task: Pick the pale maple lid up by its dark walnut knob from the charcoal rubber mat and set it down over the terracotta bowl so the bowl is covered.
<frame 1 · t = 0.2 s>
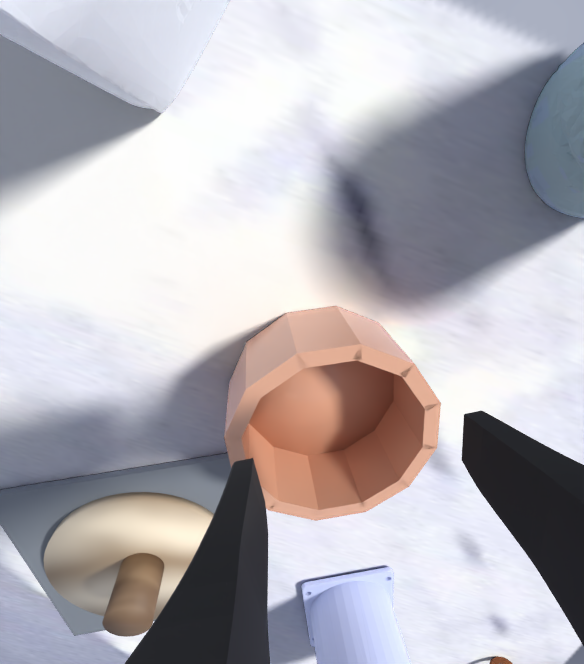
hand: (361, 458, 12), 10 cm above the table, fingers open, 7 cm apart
lid: (145, 555, 26), resting on mat
bowl: (318, 388, 23), on the table
mat: (147, 549, 27), on the table
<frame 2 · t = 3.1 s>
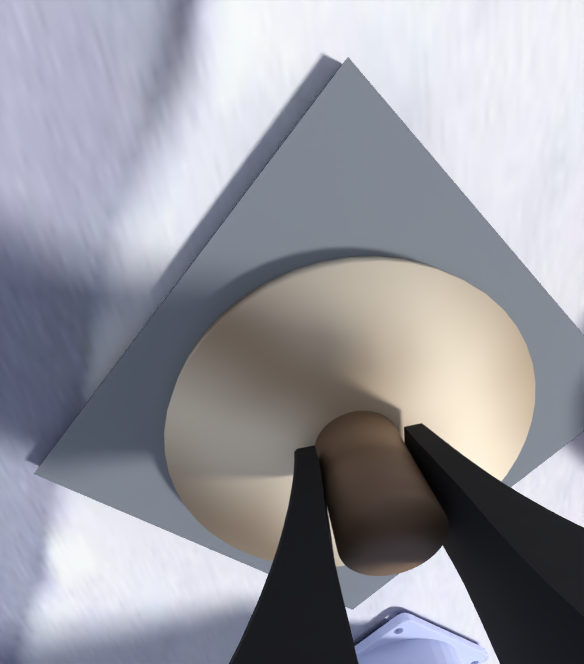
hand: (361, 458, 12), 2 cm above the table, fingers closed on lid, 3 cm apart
lid: (350, 431, 13), resting on mat, touching gripper
mat: (347, 422, 14), on the table
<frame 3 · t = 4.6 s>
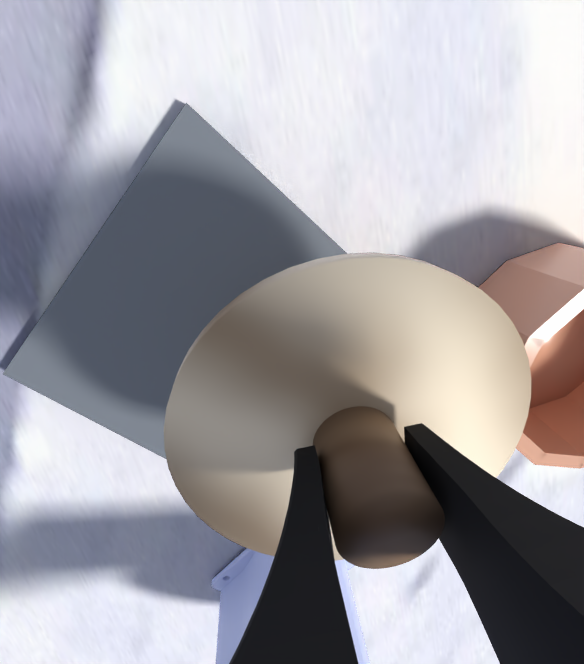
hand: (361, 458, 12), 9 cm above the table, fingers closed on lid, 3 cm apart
lid: (348, 426, 13), point 7 cm above the table, touching gripper
bowl: (535, 336, 21), on the table
mat: (225, 346, 19), on the table
when the fingers open (8 cm above the table, at t = 6.4 s): lid drops 1 cm, resting on bowl.
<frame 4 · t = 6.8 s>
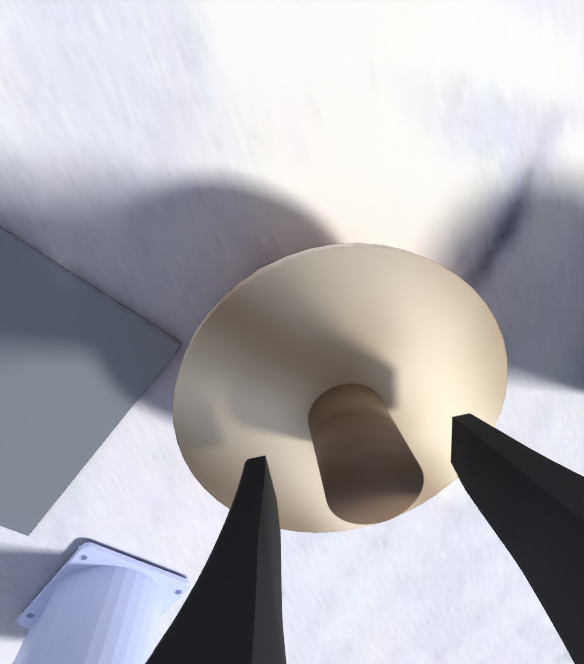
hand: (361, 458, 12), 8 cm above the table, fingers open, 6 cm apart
lid: (341, 404, 14), point 5 cm above the table, touching bowl
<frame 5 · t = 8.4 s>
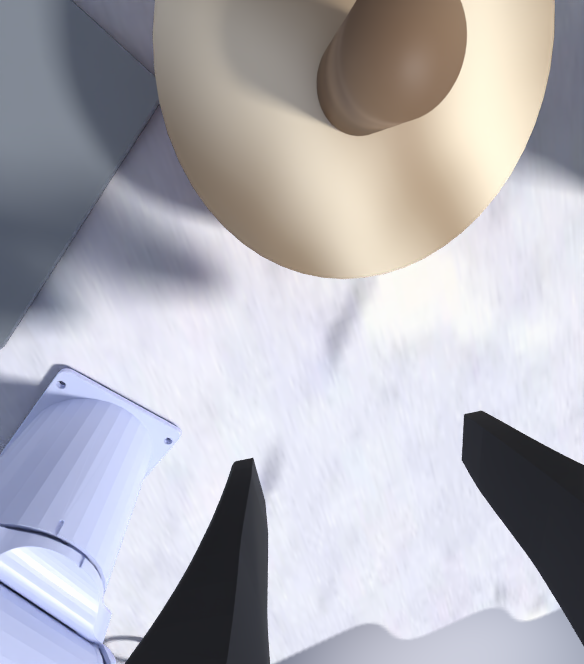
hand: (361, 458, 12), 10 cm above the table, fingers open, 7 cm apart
lid: (355, 89, 12), point 5 cm above the table, touching bowl
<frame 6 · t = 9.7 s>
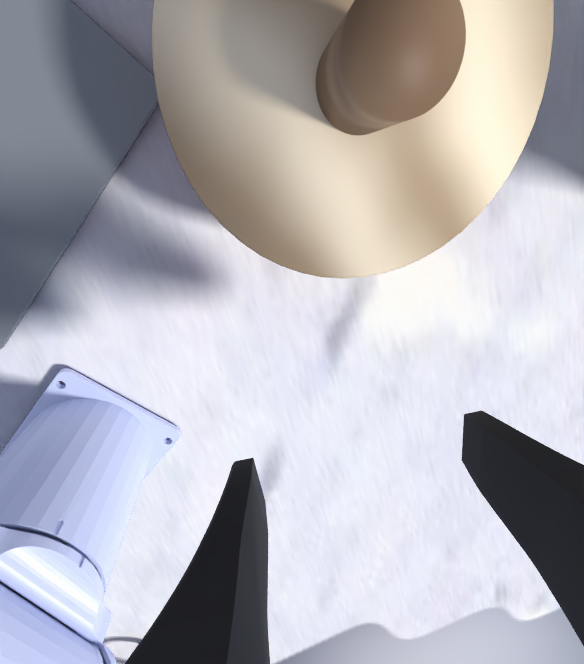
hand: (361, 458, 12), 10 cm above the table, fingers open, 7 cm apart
lid: (354, 88, 12), point 5 cm above the table, touching bowl
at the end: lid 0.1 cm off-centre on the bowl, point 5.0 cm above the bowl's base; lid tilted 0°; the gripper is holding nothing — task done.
